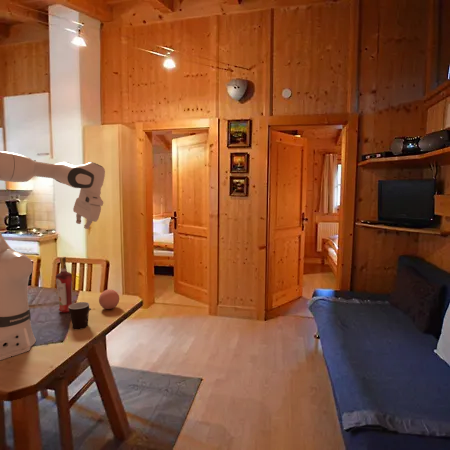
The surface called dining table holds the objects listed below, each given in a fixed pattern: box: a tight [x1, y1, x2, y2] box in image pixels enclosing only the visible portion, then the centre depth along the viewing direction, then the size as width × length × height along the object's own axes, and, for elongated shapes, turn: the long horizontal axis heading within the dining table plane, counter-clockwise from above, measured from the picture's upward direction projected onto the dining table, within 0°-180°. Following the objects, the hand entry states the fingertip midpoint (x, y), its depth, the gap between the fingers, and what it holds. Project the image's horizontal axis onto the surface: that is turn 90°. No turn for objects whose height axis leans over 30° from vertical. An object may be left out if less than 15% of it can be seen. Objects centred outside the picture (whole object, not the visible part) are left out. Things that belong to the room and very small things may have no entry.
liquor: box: [55, 256, 73, 314], centre depth 167 cm, size 7×7×28 cm
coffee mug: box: [68, 301, 90, 331], centre depth 151 cm, size 12×9×10 cm
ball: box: [98, 288, 120, 310], centre depth 171 cm, size 10×10×10 cm
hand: (82, 226), depth 155 cm, fingers open, 8 cm apart
